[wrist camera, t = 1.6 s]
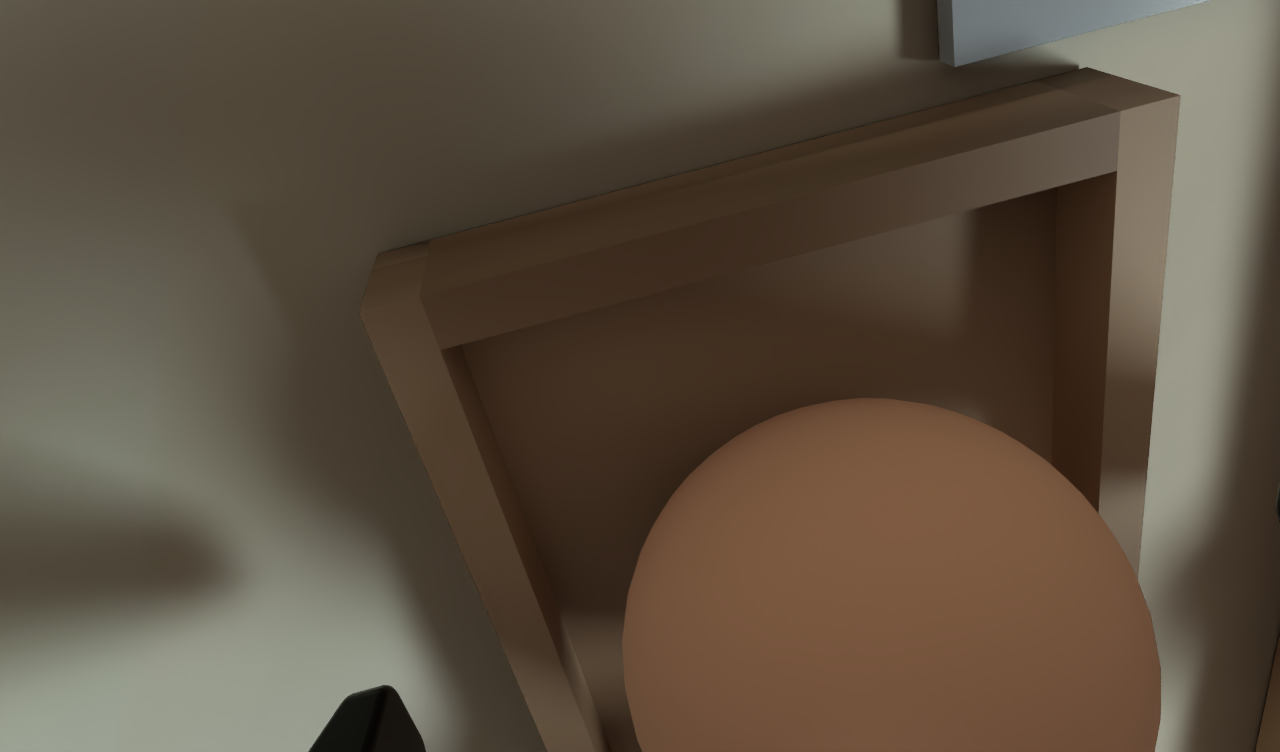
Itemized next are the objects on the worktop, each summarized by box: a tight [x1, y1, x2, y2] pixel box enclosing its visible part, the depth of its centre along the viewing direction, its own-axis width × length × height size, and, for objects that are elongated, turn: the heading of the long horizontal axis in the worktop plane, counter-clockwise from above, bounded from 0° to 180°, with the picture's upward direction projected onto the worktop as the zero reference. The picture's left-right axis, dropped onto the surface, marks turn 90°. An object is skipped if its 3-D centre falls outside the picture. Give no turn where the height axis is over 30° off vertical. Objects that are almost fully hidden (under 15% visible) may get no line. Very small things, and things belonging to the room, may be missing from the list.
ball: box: [622, 398, 1161, 752], centre depth 8 cm, size 4×4×4 cm
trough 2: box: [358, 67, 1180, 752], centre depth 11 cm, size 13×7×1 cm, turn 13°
